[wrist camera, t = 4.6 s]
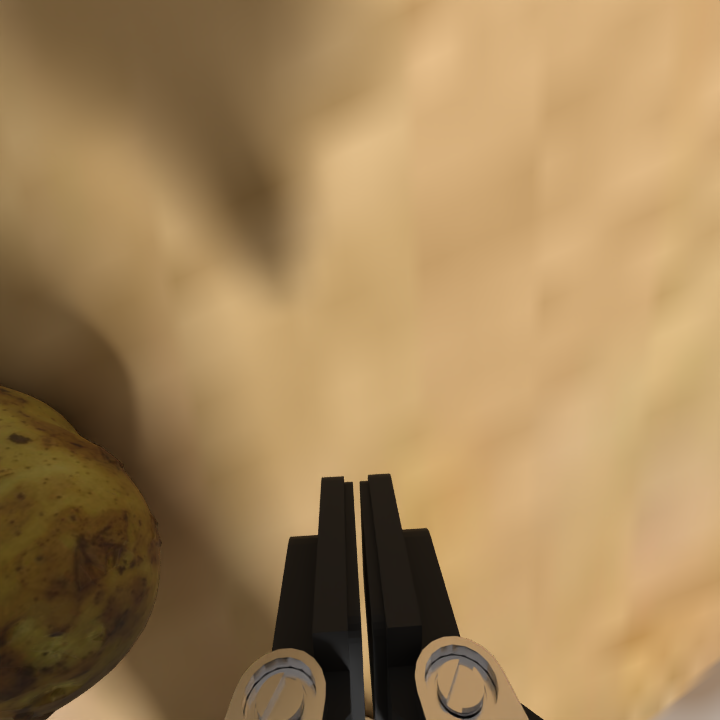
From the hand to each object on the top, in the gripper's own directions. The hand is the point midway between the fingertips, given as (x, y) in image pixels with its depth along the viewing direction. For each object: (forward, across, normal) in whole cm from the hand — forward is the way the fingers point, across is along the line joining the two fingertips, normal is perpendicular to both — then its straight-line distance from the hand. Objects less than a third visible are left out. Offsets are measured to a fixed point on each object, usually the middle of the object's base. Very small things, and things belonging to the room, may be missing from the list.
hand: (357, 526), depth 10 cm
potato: (+7, +12, +1) cm, 14 cm away
